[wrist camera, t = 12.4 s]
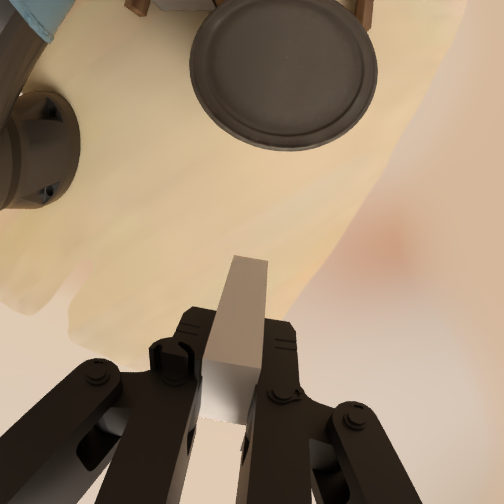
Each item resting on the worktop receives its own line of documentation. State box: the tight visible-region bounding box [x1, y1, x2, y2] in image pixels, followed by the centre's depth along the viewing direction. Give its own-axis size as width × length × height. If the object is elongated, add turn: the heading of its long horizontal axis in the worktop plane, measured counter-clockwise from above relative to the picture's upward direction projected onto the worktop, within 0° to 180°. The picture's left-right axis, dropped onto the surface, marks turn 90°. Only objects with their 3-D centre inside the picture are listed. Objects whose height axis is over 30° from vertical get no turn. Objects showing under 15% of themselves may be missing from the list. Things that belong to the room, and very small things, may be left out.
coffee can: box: [189, 0, 378, 151], centre depth 20 cm, size 10×10×14 cm
